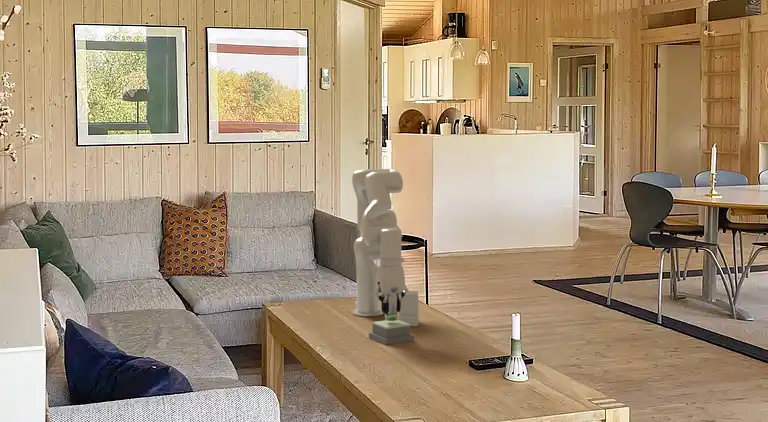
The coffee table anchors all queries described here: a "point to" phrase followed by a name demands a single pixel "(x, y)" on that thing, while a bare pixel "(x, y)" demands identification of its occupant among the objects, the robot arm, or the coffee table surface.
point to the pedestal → (391, 332)
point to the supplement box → (410, 308)
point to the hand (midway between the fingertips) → (391, 311)
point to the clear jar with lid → (392, 306)
